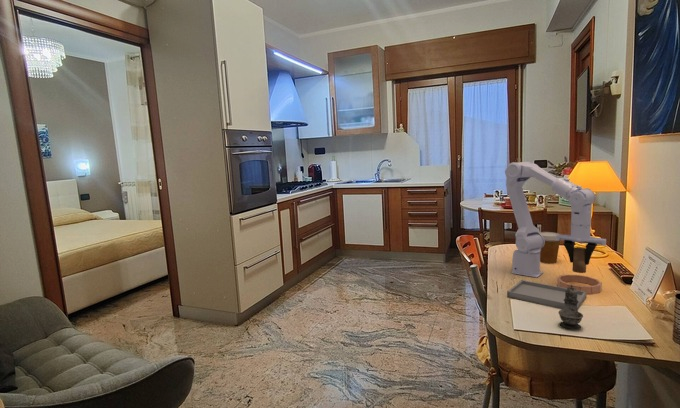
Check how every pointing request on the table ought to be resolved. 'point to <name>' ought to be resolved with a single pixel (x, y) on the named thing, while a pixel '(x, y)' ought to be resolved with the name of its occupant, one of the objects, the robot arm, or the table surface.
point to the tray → (542, 294)
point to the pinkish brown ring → (592, 289)
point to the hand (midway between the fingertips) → (579, 262)
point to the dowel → (579, 260)
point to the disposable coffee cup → (549, 248)
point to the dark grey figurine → (570, 311)
